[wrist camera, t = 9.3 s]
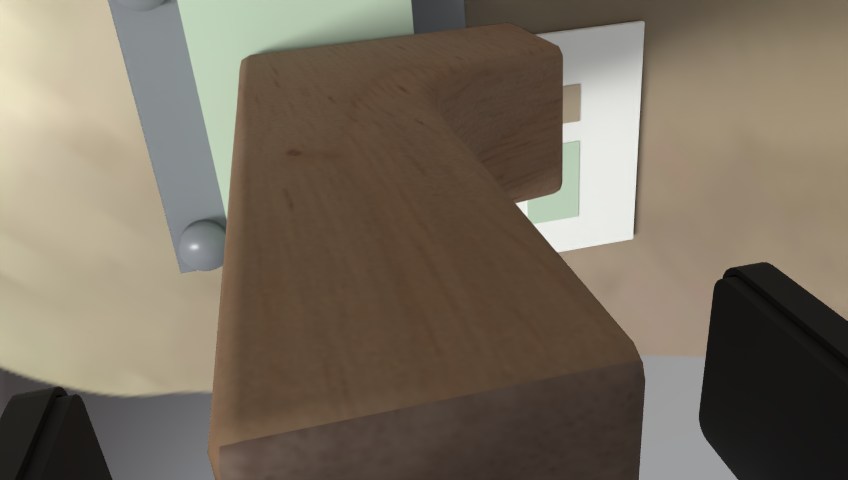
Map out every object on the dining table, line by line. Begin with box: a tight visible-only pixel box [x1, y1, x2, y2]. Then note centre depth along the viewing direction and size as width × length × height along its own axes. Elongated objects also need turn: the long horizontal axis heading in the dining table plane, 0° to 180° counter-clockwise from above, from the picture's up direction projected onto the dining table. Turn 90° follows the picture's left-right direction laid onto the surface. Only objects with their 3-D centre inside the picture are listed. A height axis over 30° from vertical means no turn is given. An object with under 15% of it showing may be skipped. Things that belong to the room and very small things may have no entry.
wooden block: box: [208, 23, 645, 480], centre depth 16 cm, size 9×4×18 cm, turn 95°
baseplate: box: [108, 0, 466, 273], centre depth 26 cm, size 12×12×5 cm
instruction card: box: [516, 21, 645, 252], centre depth 31 cm, size 8×10×1 cm
